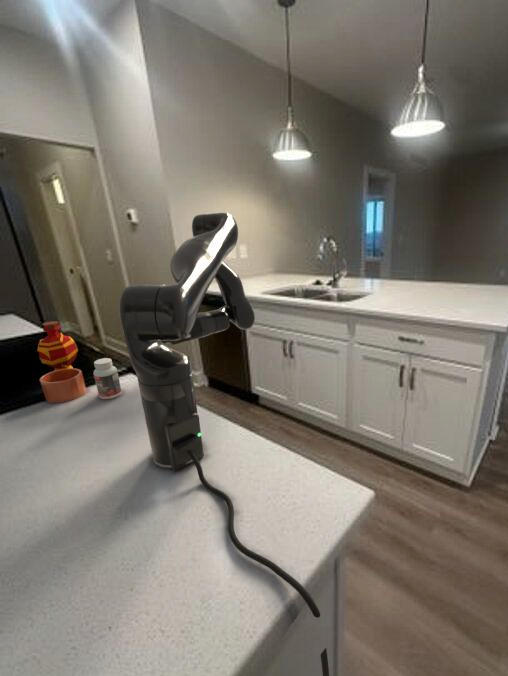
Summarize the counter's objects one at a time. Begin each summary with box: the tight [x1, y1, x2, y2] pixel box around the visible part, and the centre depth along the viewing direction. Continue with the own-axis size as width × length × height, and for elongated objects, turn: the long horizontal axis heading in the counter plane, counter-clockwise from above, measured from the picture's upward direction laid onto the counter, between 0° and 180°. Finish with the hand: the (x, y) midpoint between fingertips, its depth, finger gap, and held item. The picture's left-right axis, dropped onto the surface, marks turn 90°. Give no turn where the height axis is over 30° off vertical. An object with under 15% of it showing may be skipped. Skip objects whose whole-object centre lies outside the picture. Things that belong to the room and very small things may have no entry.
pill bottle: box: [93, 357, 122, 400], centre depth 89 cm, size 5×5×10 cm
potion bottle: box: [36, 320, 79, 371], centre depth 104 cm, size 10×10×15 cm
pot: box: [39, 367, 87, 403], centre depth 91 cm, size 9×9×6 cm
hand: (144, 338), depth 94 cm, fingers open, 8 cm apart
